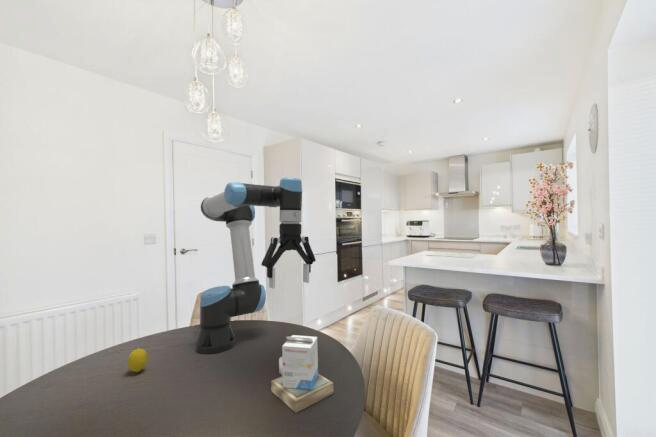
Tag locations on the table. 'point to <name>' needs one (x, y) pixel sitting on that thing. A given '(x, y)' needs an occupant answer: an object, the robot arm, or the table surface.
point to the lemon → (137, 360)
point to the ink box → (300, 362)
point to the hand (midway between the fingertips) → (289, 284)
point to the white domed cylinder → (280, 366)
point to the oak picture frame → (302, 393)
